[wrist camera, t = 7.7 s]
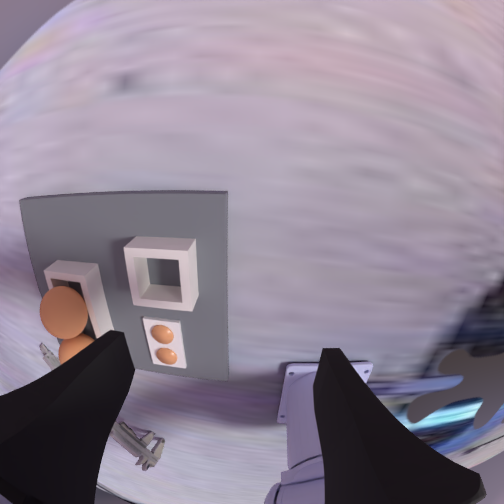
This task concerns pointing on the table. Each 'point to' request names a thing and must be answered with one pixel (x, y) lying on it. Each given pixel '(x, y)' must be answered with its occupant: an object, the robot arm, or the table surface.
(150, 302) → the tube
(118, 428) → the caliper
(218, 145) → the table surface
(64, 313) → the ball
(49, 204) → the mat
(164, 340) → the card
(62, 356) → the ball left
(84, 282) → the hollow rectangular frame
